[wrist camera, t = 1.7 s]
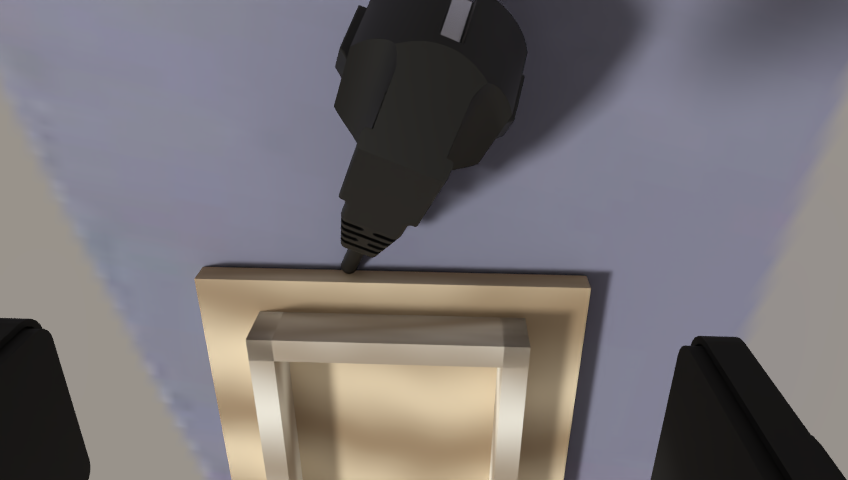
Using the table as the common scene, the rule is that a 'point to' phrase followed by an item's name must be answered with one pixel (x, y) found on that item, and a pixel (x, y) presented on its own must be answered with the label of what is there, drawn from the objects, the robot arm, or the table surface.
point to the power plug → (419, 107)
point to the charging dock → (393, 372)
